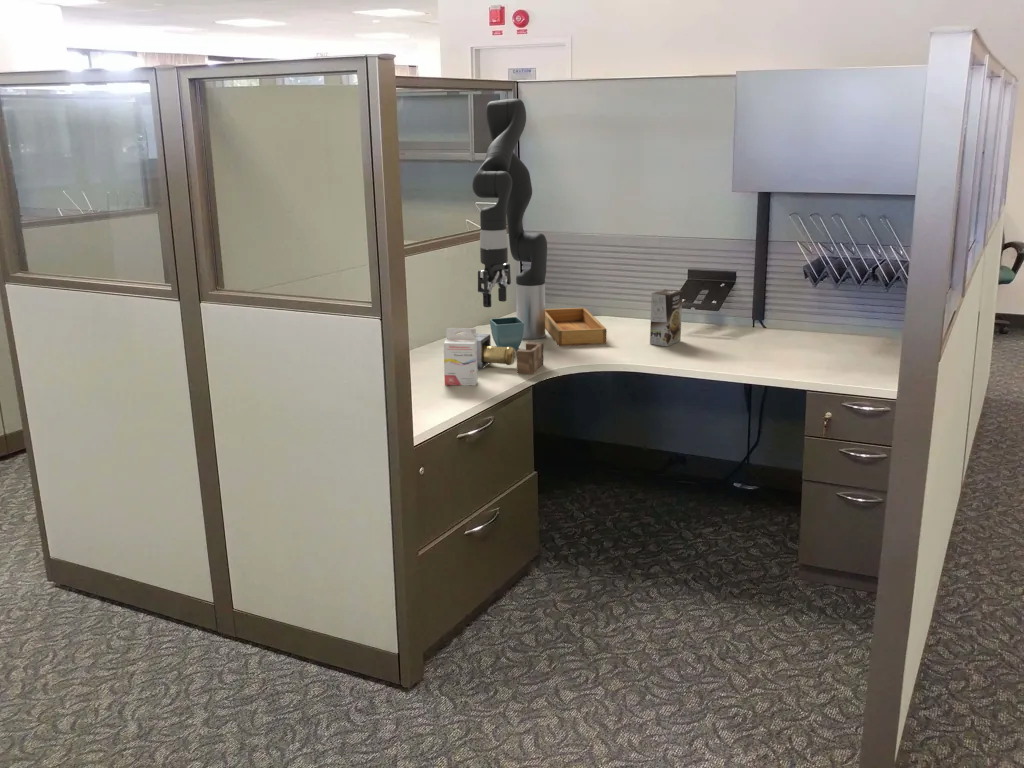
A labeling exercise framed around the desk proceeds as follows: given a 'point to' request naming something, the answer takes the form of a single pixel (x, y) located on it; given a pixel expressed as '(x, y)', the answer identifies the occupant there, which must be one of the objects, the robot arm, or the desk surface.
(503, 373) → the desk surface
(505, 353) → the tube
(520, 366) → the socket
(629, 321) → the desk surface
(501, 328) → the flower pot
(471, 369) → the ink cartridge box
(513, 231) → the robot arm
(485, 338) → the sleeve
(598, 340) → the tray
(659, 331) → the coffee box
